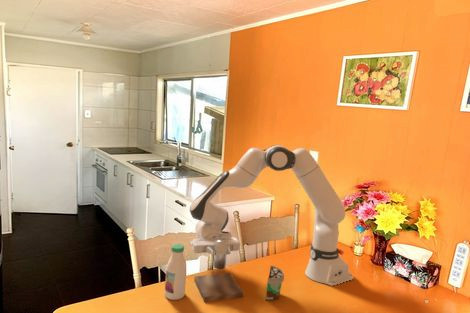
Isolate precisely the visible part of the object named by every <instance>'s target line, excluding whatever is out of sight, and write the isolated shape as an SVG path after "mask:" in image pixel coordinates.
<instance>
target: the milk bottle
mask: <svg viewBox="0 0 470 313" xmlns="http://www.w3.org/2000/svg"><path fill="white" fill-rule="evenodd" d="M184 250H185V246H184V245H183V244H179V243H178V244H177V243H176V244H173V245H172V246H171V255H170V258H169V260H168V261H167V264H166V267H165V268H166V269H165V270H166V271H165V283H164V297H165V298H166V299H168V300H171V301H178V300H181V299H182V298H184V296H185V294H186V282H187V281H186V280H187V262H186V260H185V257H184V252H185V251H184Z"/></svg>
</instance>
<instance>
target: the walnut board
mask: <svg viewBox="0 0 470 313" xmlns="http://www.w3.org/2000/svg"><path fill="white" fill-rule="evenodd" d="M193 281H194V283H195V286H196V287H197V289H198V290H197V291H199V293H200V296H201V298H202V300H203V302H205V303H208V302H215V301H222V300H231V299H239V298H243V297H244V291H243V290H242V288H241V287H240V285H239V284H238V282H237V281H236V279H235V278H234V277H233V275H232V274H231V272H226V273H216V274H206V275H205V274H204V275H196V276H195V275H194V278H193Z"/></svg>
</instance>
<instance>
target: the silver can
mask: <svg viewBox="0 0 470 313" xmlns="http://www.w3.org/2000/svg"><path fill="white" fill-rule="evenodd" d="M227 246H228V240H227V239H224V238H218V239H216V241H215V251H216V253H215V255H213V262H212V263H213V264H212V266H213V268H214V269H217V270H224V269H226V267H227V266H226V265H227V255H228V254H227Z"/></svg>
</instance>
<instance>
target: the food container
mask: <svg viewBox="0 0 470 313" xmlns="http://www.w3.org/2000/svg"><path fill="white" fill-rule="evenodd" d="M284 281H285V274H284V272H283V270H282V269H281V268H279V267H277V266H274V265H270V268H269V273H268V278H267V285H266V292H265V293H266V294H265V301H266V302H275V301H277V300H279V298H280V294H281V289H282V284H283V282H284Z"/></svg>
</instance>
